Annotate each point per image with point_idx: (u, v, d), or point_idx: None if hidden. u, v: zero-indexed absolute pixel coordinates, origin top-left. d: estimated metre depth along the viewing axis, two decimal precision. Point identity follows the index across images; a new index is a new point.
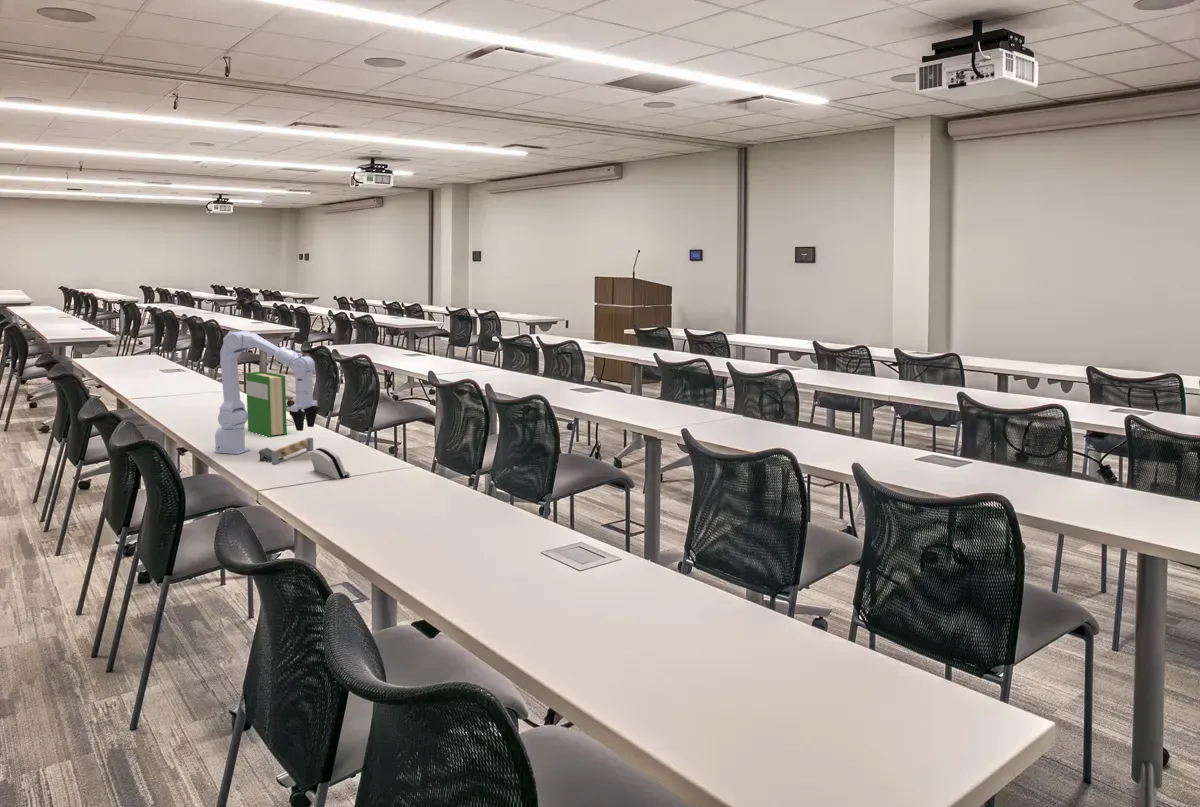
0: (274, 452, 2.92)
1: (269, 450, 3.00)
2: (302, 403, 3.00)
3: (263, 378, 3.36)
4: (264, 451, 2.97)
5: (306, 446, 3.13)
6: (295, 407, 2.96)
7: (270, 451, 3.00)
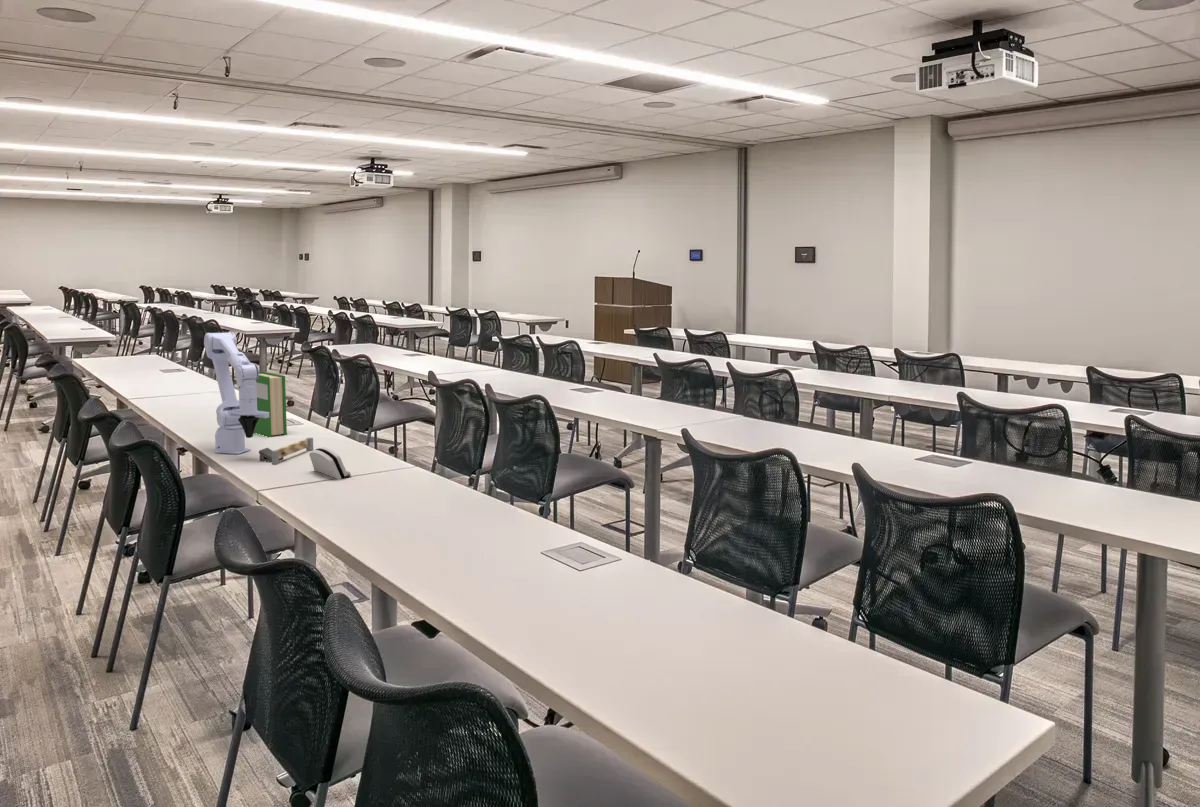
0: (274, 452, 2.92)
1: (269, 450, 3.00)
2: None
3: (263, 378, 3.36)
4: (264, 451, 2.97)
5: (306, 446, 3.13)
6: None
7: (270, 451, 3.00)
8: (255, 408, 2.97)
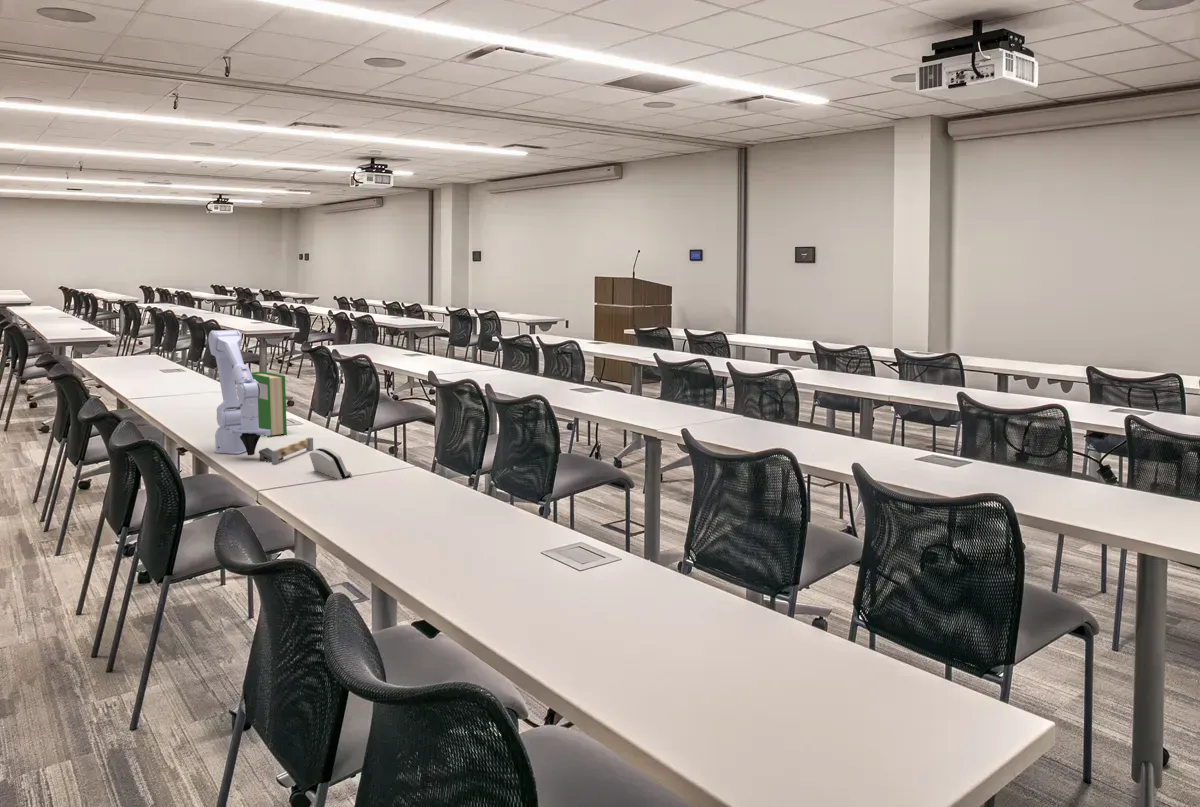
0: (274, 452, 2.92)
1: (269, 450, 3.00)
2: None
3: (263, 378, 3.36)
4: (264, 451, 2.97)
5: (306, 446, 3.13)
6: None
7: (270, 451, 3.00)
8: (257, 426, 2.98)
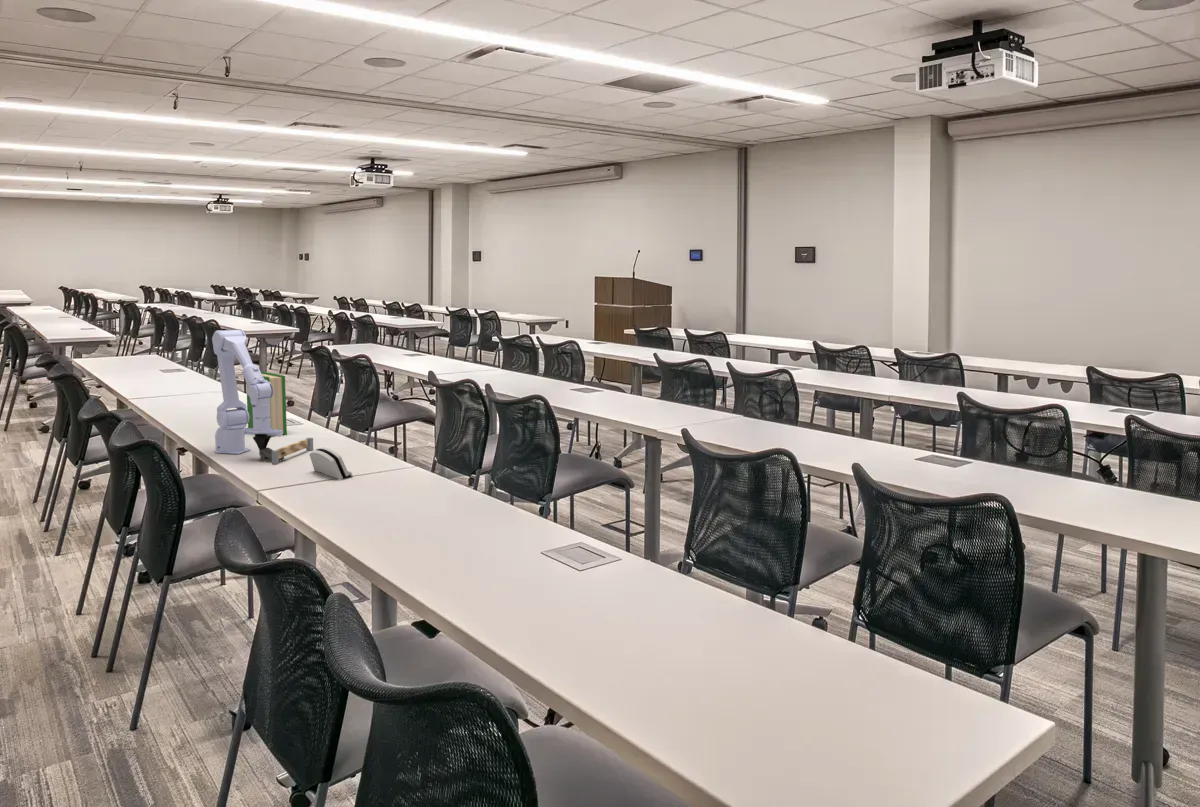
0: (274, 452, 2.92)
1: (270, 450, 3.00)
2: None
3: None
4: (265, 451, 2.97)
5: (306, 446, 3.13)
6: None
7: (271, 451, 3.00)
8: (269, 426, 2.97)
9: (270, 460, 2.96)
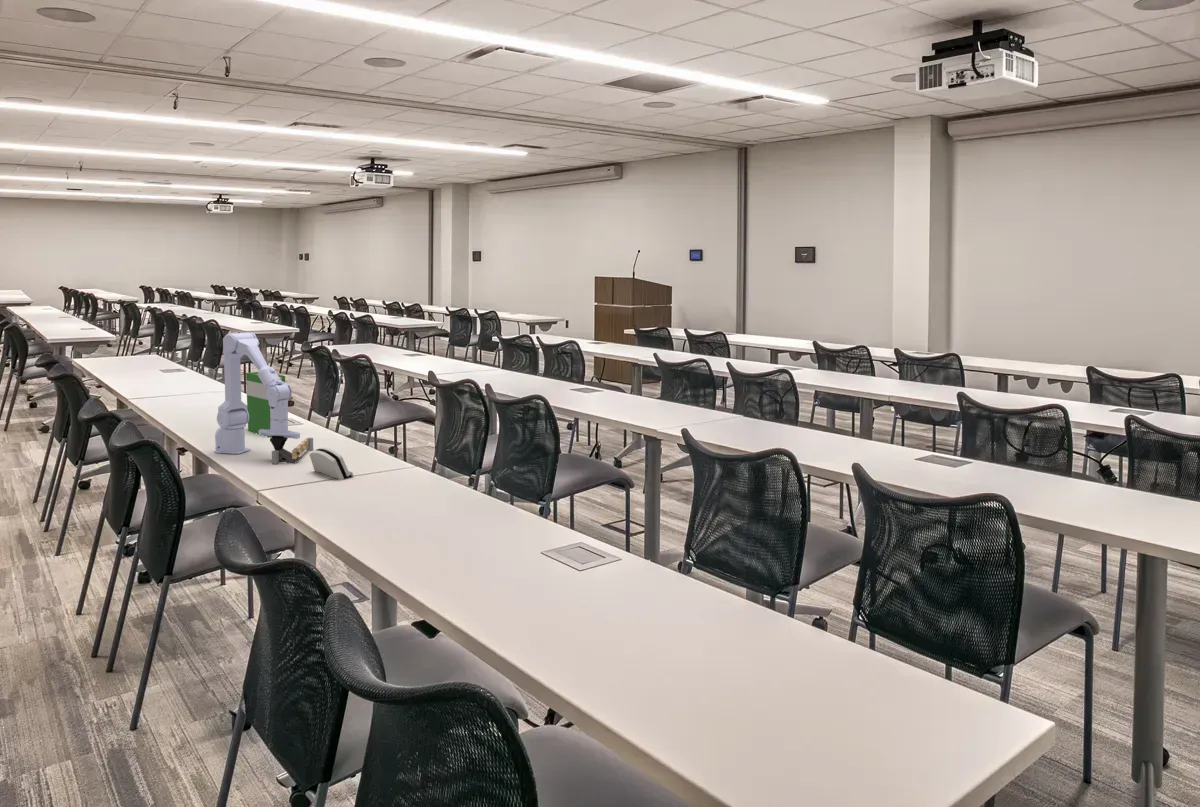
0: (274, 452, 2.92)
1: (285, 451, 2.99)
2: None
3: None
4: (282, 452, 2.96)
5: (307, 446, 3.13)
6: None
7: (287, 452, 2.99)
8: (286, 428, 2.96)
9: (288, 461, 2.95)
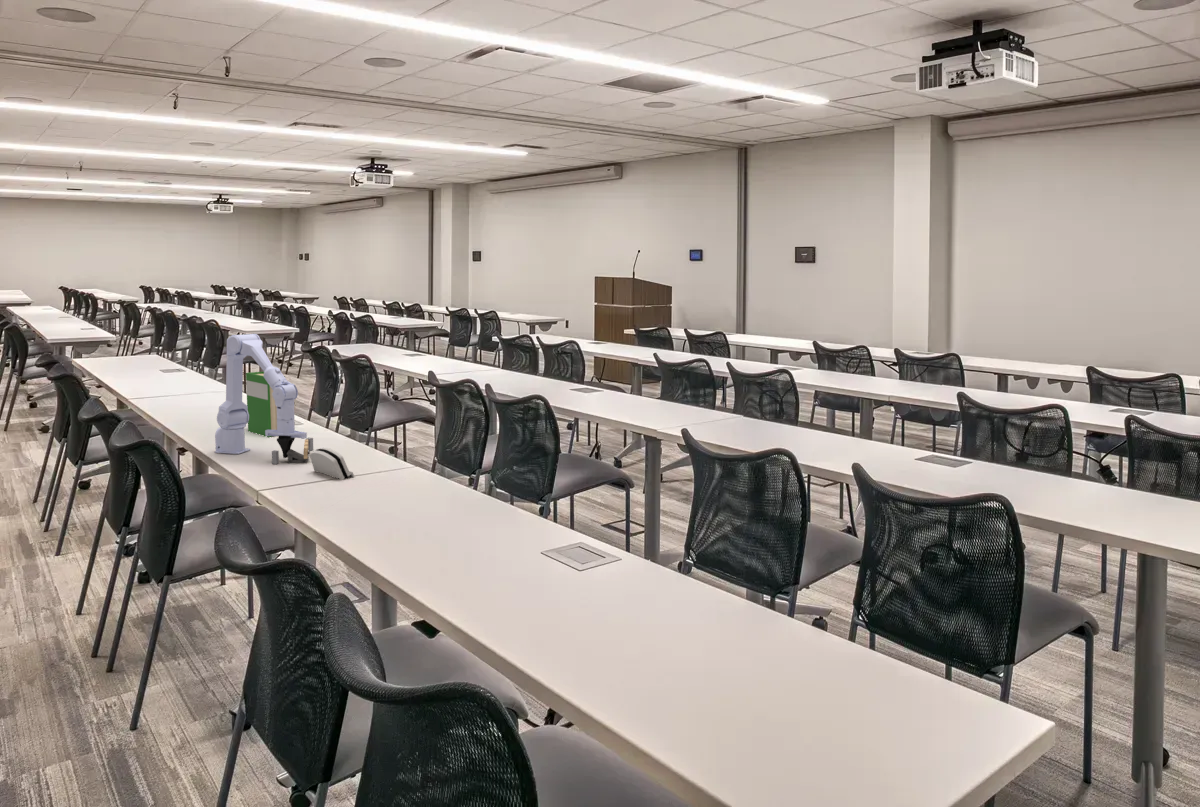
0: (274, 452, 2.92)
1: (294, 451, 2.99)
2: (277, 430, 2.96)
3: (263, 378, 3.36)
4: (291, 452, 2.96)
5: (308, 446, 3.13)
6: None
7: (295, 452, 2.99)
8: (293, 428, 2.96)
9: (299, 461, 2.96)
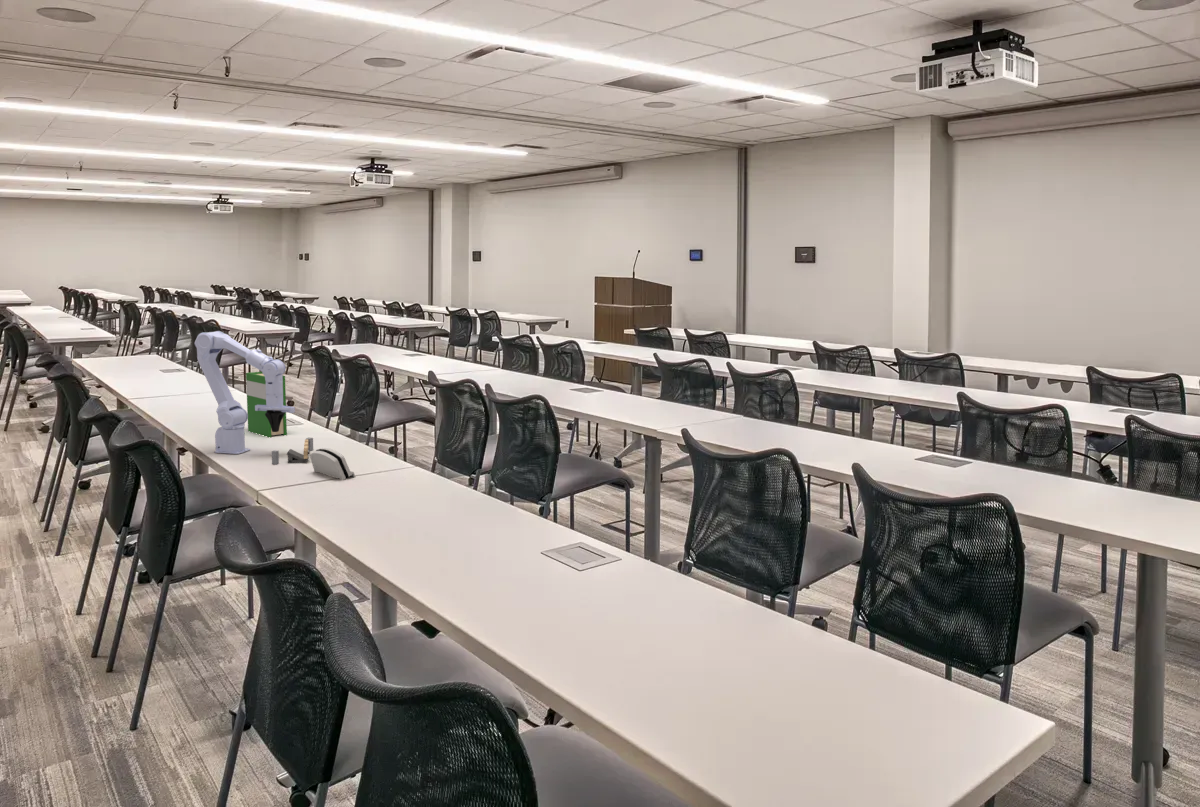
0: (274, 452, 2.92)
1: (294, 451, 2.99)
2: None
3: (263, 378, 3.36)
4: (291, 452, 2.96)
5: (308, 446, 3.13)
6: None
7: (295, 452, 2.99)
8: (281, 403, 3.05)
9: (299, 461, 2.96)
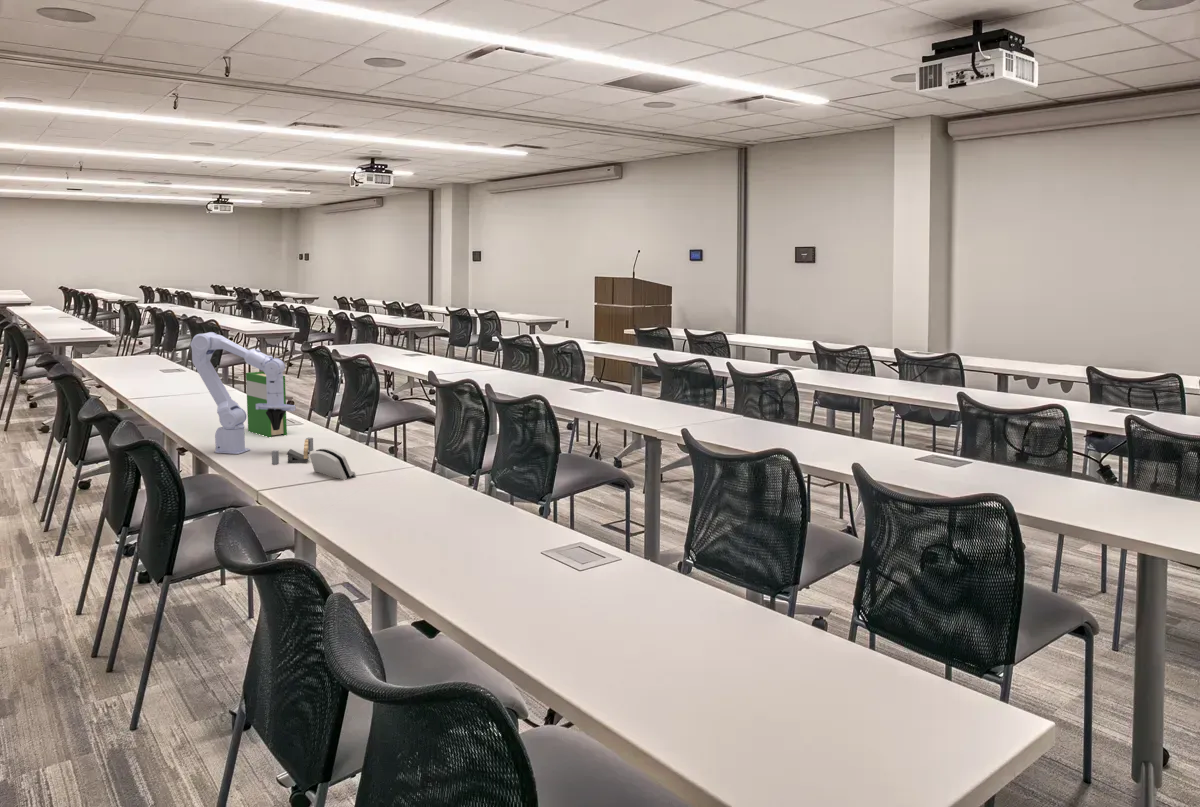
0: (274, 452, 2.92)
1: (294, 451, 2.99)
2: (267, 403, 3.08)
3: (263, 378, 3.36)
4: (291, 452, 2.96)
5: (308, 446, 3.13)
6: None
7: (295, 452, 2.99)
8: (282, 401, 3.08)
9: (299, 461, 2.96)
